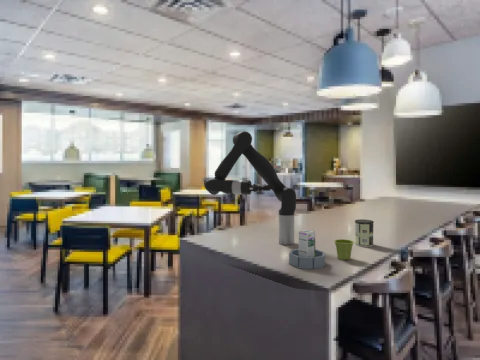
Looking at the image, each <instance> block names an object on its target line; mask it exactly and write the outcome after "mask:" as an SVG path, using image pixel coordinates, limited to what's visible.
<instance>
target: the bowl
mask: <svg viewBox="0 0 480 360" xmlns="http://www.w3.org/2000/svg"><path fill="white" fill-rule="evenodd" d="M288 254H289V255H288V264H289V265H290V266H293V267H295V268H299V269H303V270H304V269H308V270H316V269H321V268H325V267H326V252H325V251H323V250H319V249H316V248H315V257H300V256H299V248H296V249H295V248H294V249H291V250H290V251H289V253H288Z"/></svg>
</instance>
